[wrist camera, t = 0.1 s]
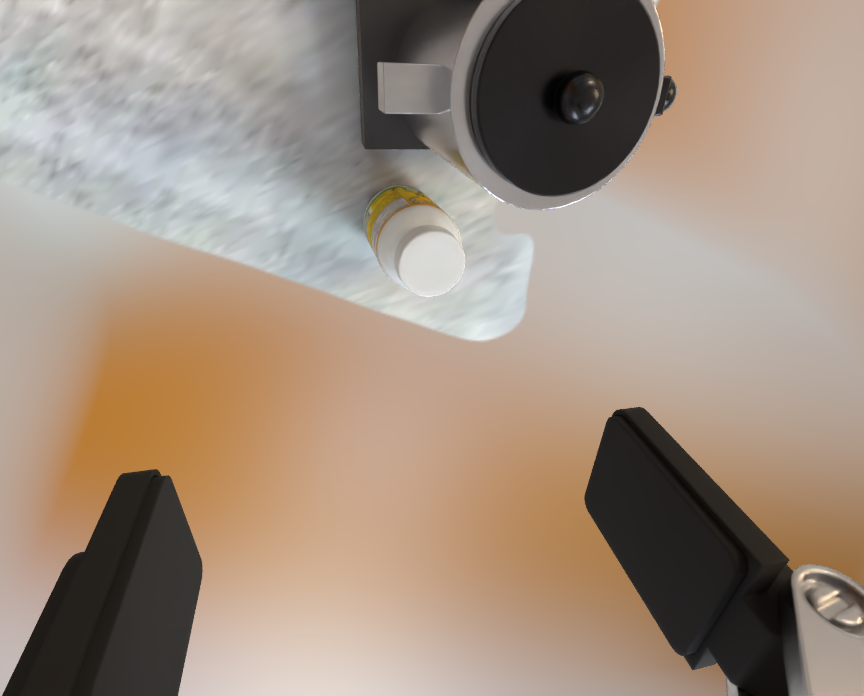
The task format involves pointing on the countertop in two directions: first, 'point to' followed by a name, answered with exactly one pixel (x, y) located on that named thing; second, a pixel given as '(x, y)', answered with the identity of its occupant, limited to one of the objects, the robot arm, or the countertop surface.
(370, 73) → the push button panel
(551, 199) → the kettle
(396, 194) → the supplement bottle
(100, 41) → the countertop surface
